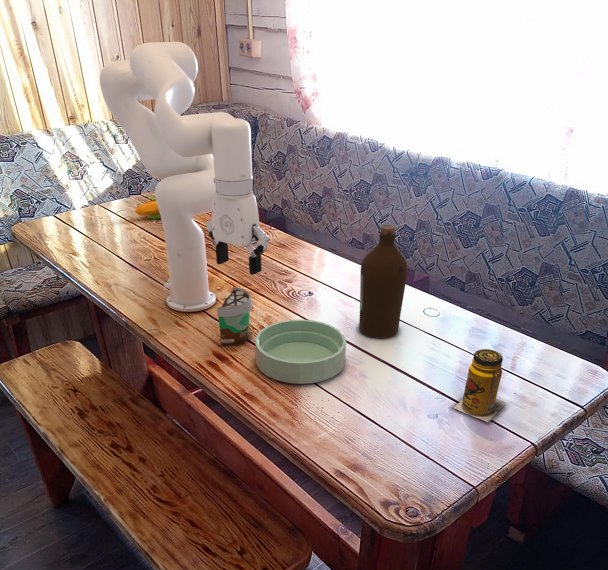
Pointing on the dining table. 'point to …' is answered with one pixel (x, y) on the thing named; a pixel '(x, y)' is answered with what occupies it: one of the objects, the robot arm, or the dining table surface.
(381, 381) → the dining table surface
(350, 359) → the dining table surface
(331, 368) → the bowl
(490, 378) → the condiment
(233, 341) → the food container
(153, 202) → the corn
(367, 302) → the olive oil
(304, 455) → the dining table surface
